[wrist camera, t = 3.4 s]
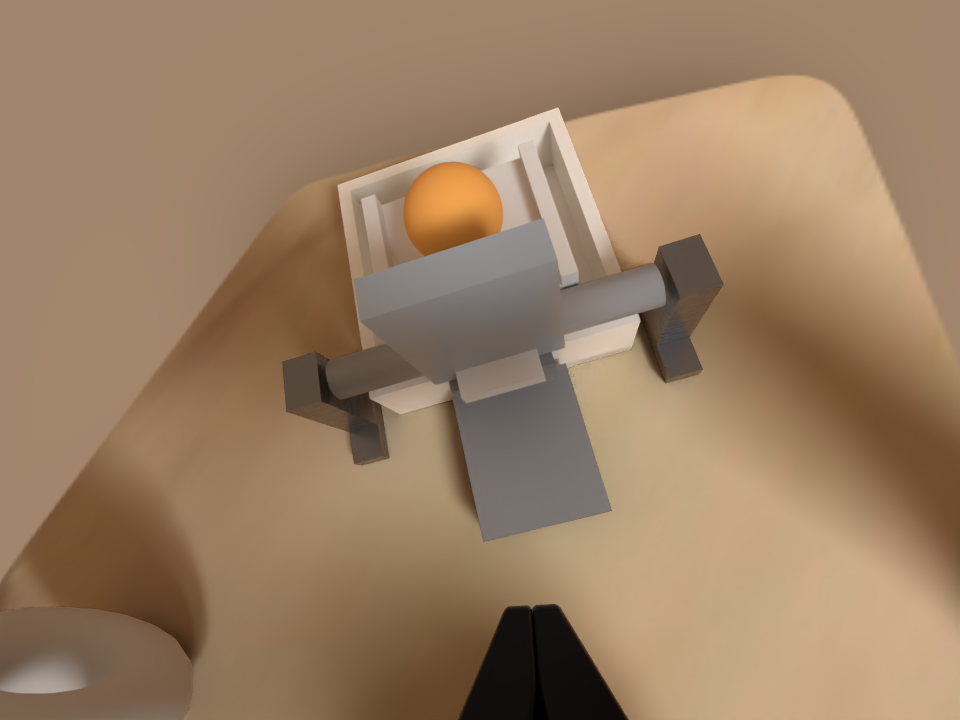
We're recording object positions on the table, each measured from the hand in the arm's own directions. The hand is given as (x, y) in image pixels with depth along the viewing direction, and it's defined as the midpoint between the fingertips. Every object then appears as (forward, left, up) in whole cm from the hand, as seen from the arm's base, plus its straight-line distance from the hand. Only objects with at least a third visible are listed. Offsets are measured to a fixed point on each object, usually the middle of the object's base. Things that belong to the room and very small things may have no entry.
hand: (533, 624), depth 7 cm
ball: (+12, 0, -5) cm, 13 cm away
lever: (+8, 0, -12) cm, 14 cm away
